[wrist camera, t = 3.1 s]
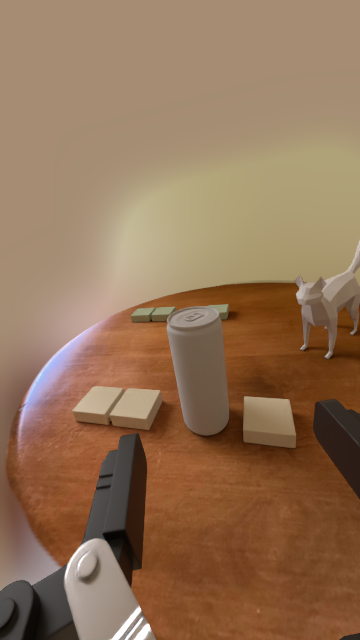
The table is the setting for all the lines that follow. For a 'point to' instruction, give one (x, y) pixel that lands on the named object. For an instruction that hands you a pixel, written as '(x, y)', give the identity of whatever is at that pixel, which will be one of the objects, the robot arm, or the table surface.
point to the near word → (142, 405)
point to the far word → (169, 313)
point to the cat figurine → (329, 301)
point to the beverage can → (200, 368)
